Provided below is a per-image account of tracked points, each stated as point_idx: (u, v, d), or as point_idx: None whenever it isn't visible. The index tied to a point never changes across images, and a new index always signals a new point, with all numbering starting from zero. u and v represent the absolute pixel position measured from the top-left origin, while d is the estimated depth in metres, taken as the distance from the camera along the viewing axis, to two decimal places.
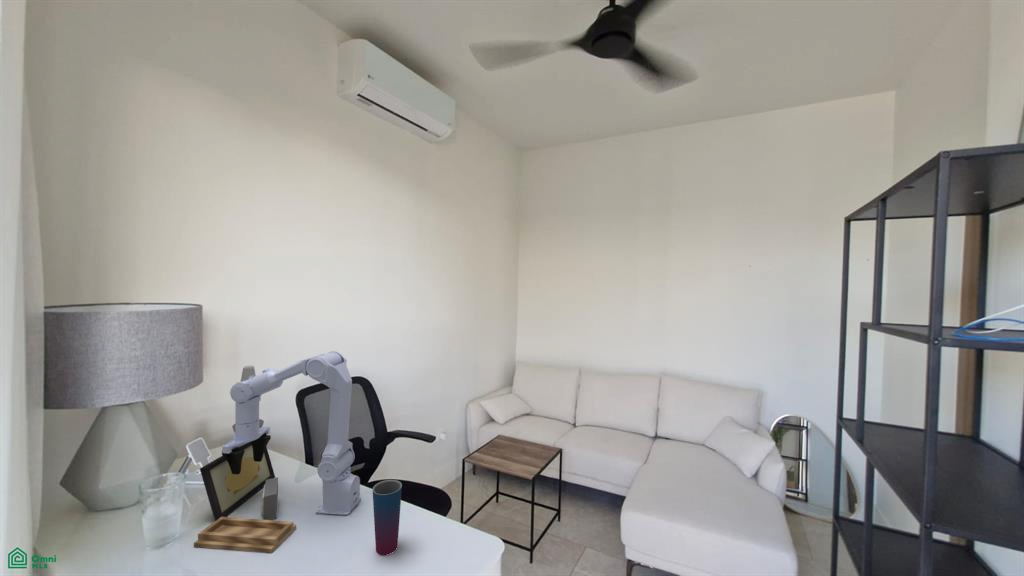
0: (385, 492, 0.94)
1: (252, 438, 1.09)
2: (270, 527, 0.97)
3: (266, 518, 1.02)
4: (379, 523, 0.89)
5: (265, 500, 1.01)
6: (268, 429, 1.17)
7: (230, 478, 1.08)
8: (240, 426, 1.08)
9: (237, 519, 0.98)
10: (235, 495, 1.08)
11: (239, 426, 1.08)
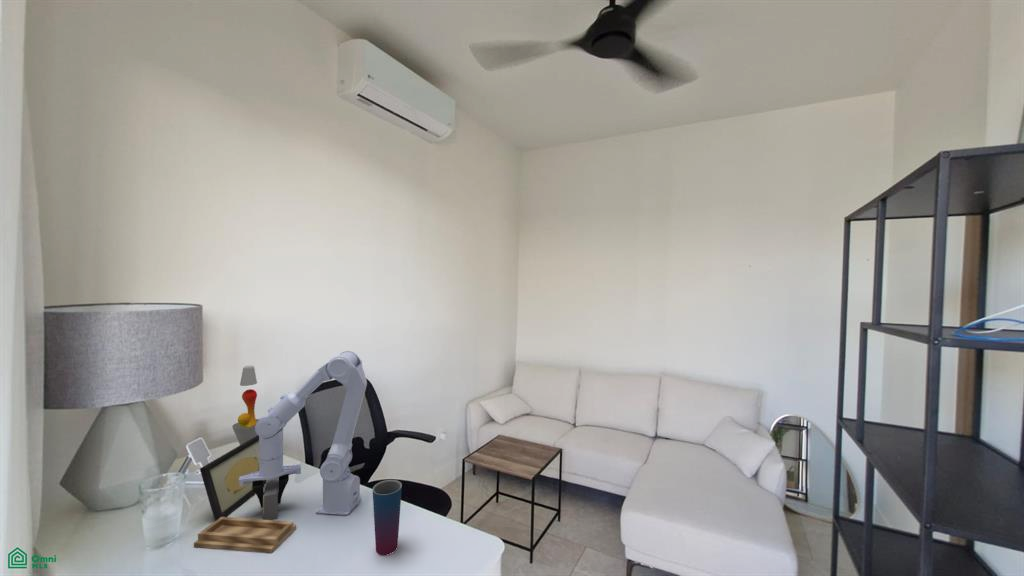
0: (385, 492, 0.94)
1: (265, 477, 1.03)
2: (270, 527, 0.97)
3: (267, 517, 1.02)
4: (379, 523, 0.89)
5: (266, 500, 1.01)
6: (298, 469, 1.09)
7: (230, 478, 1.08)
8: (259, 460, 1.04)
9: (237, 519, 0.98)
10: (235, 495, 1.08)
11: (259, 460, 1.05)
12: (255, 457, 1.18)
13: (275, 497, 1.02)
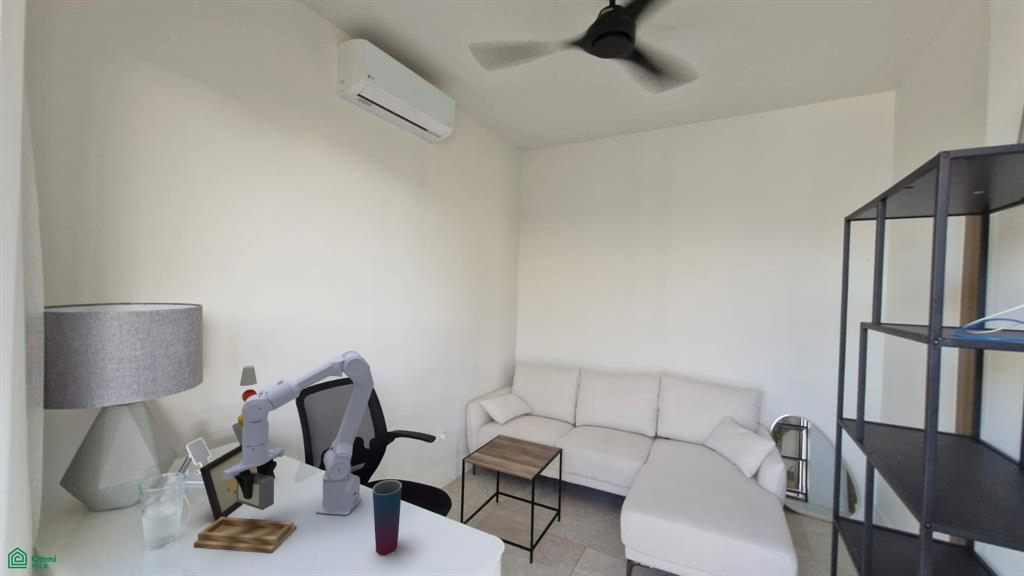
0: (385, 492, 0.94)
1: (258, 463, 0.96)
2: (270, 527, 0.97)
3: (265, 504, 0.96)
4: (379, 523, 0.89)
5: (264, 486, 0.96)
6: (282, 451, 1.04)
7: None
8: (245, 449, 0.96)
9: (237, 519, 0.98)
10: (235, 495, 1.08)
11: (244, 449, 0.96)
12: None
13: (272, 481, 0.98)
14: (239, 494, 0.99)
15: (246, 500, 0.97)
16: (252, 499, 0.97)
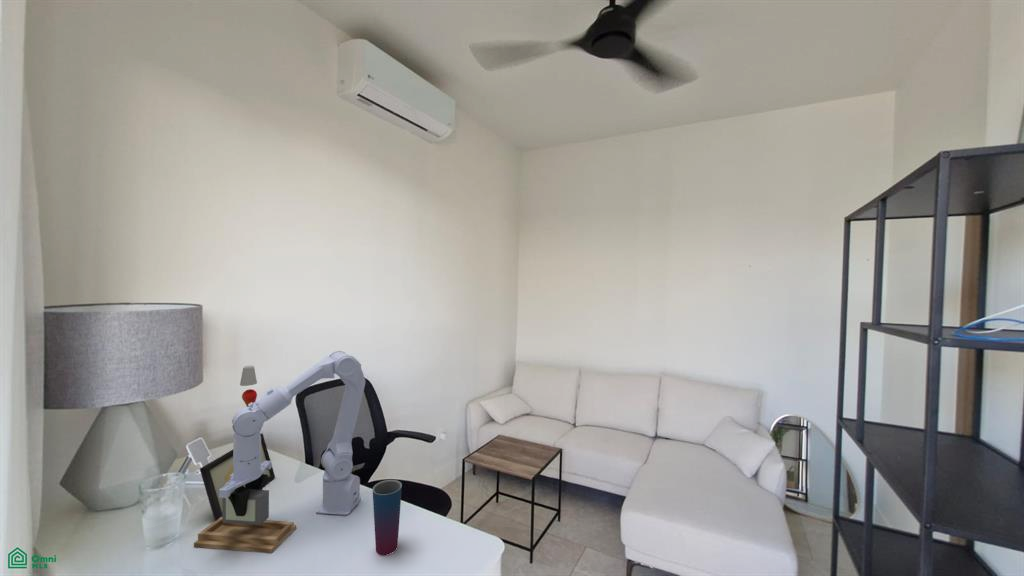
0: (385, 492, 0.94)
1: (253, 477, 0.94)
2: (270, 527, 0.97)
3: (262, 519, 0.94)
4: (379, 523, 0.89)
5: (261, 500, 0.94)
6: (270, 464, 1.02)
7: (230, 478, 1.08)
8: (239, 464, 0.92)
9: None
10: None
11: (238, 464, 0.92)
12: None
13: (267, 495, 0.96)
14: (227, 514, 0.94)
15: (237, 518, 0.94)
16: (246, 516, 0.93)
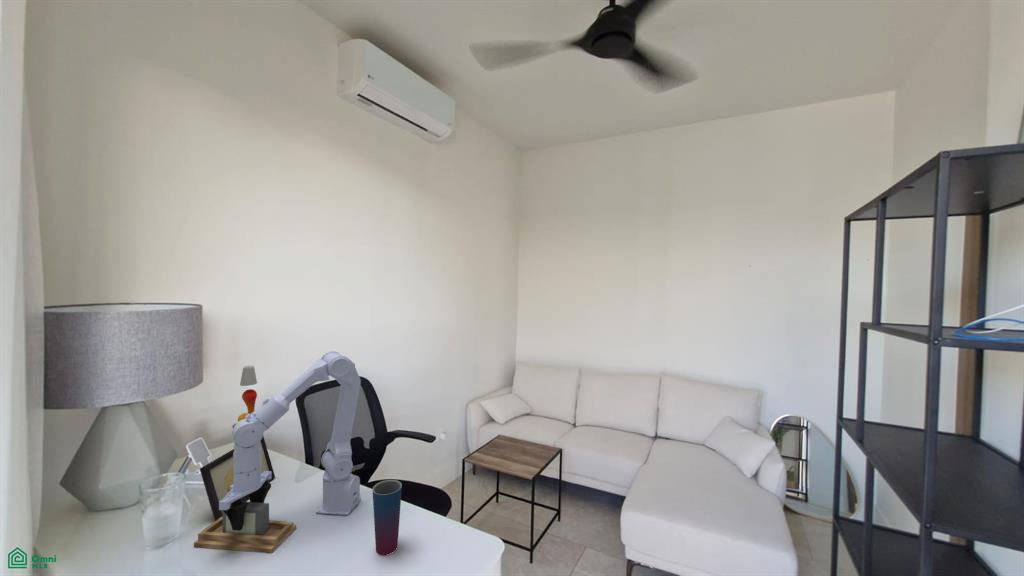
0: (385, 492, 0.94)
1: (253, 488, 0.94)
2: (270, 527, 0.97)
3: (262, 532, 0.94)
4: (379, 523, 0.89)
5: (261, 513, 0.94)
6: (270, 474, 1.02)
7: (230, 478, 1.08)
8: (239, 475, 0.92)
9: None
10: None
11: (238, 476, 0.92)
12: None
13: (267, 508, 0.96)
14: (227, 527, 0.94)
15: (237, 532, 0.94)
16: (246, 529, 0.93)
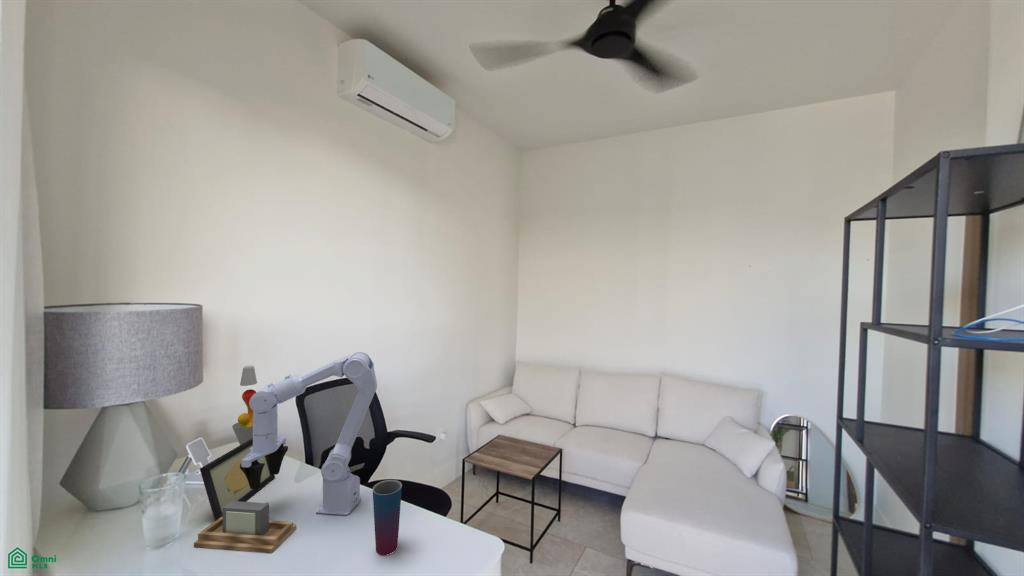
0: (385, 492, 0.94)
1: (271, 450, 1.03)
2: (270, 527, 0.97)
3: (262, 532, 0.94)
4: (379, 523, 0.89)
5: (261, 513, 0.94)
6: (284, 440, 1.11)
7: (230, 478, 1.08)
8: (259, 438, 1.01)
9: None
10: (235, 495, 1.08)
11: (257, 438, 1.01)
12: None
13: (267, 508, 0.96)
14: (227, 527, 0.94)
15: (237, 532, 0.94)
16: (246, 529, 0.93)
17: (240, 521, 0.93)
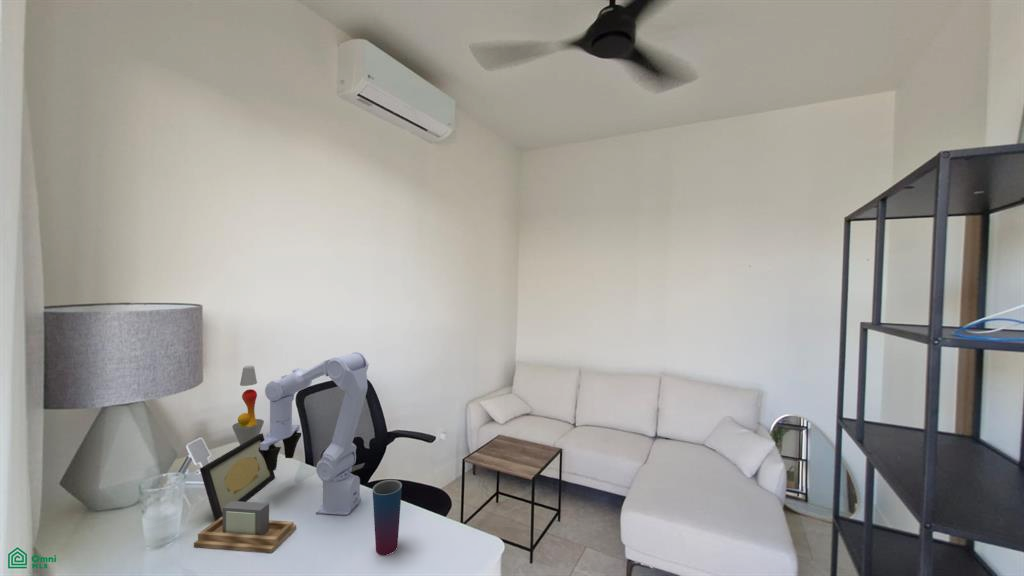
0: (385, 492, 0.94)
1: (286, 435, 1.13)
2: (270, 527, 0.97)
3: (262, 532, 0.94)
4: (379, 523, 0.89)
5: (261, 513, 0.94)
6: (298, 427, 1.21)
7: (230, 478, 1.08)
8: (275, 424, 1.11)
9: None
10: (235, 495, 1.08)
11: (274, 424, 1.11)
12: (255, 457, 1.18)
13: (267, 508, 0.96)
14: (227, 527, 0.94)
15: (237, 532, 0.94)
16: (246, 529, 0.93)
17: (240, 521, 0.93)
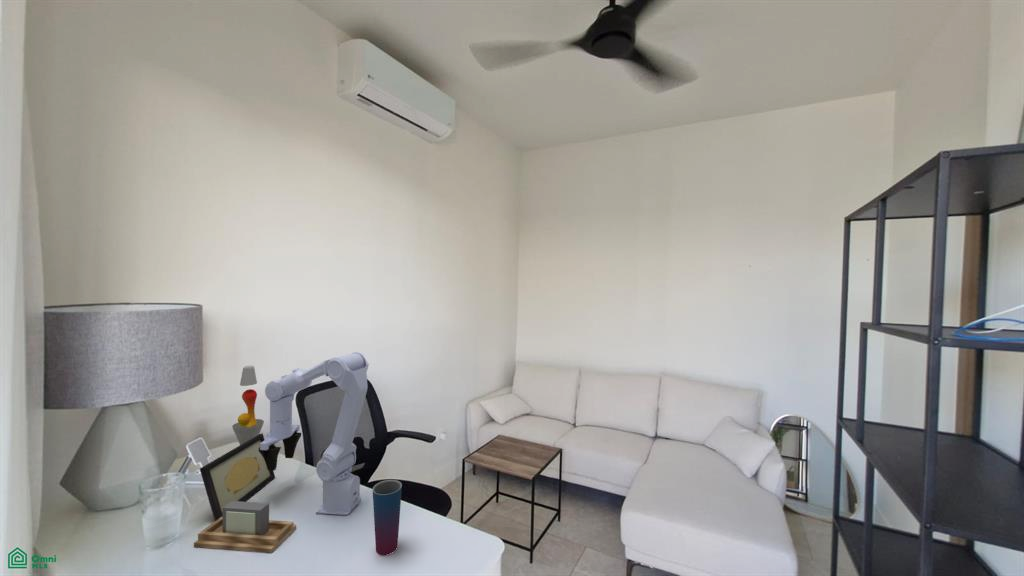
0: (385, 492, 0.94)
1: (286, 435, 1.13)
2: (270, 527, 0.97)
3: (262, 532, 0.94)
4: (379, 523, 0.89)
5: (261, 513, 0.94)
6: (298, 427, 1.21)
7: (230, 478, 1.08)
8: (275, 424, 1.11)
9: None
10: (235, 495, 1.08)
11: (274, 424, 1.11)
12: (255, 457, 1.18)
13: (267, 508, 0.96)
14: (227, 527, 0.94)
15: (237, 532, 0.94)
16: (246, 529, 0.93)
17: (240, 521, 0.93)
